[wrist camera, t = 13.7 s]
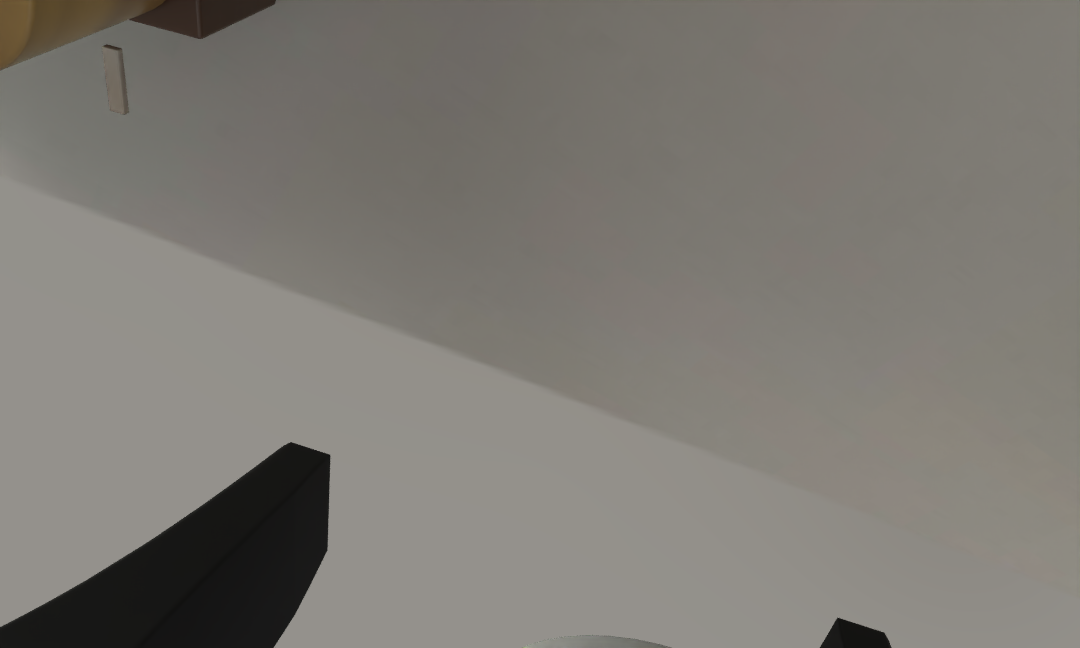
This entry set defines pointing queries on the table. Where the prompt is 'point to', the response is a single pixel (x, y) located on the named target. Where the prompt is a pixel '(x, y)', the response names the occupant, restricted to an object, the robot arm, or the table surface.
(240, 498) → the robot arm
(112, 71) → the dimmer panel
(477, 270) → the table surface
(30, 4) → the dimmer knob
